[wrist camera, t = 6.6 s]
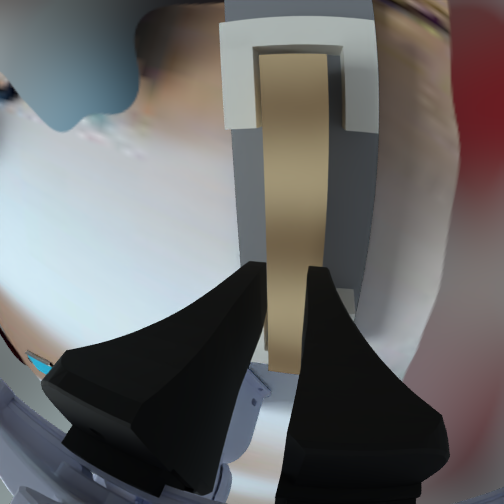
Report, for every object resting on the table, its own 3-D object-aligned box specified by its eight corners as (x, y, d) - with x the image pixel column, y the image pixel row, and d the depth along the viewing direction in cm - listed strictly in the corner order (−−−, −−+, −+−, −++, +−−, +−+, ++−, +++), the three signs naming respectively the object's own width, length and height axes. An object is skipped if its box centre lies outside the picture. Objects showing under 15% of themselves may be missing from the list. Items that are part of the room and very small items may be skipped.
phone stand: (43, 376, 53) (40, 380, 51) (19, 342, 47) (15, 346, 46) (91, 400, 47) (87, 405, 46) (62, 363, 42) (57, 368, 40)
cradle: (342, 358, 22) (341, 391, 19) (250, 348, 24) (240, 379, 21) (368, 2, 10) (378, -21, 7) (229, 4, 12) (207, -15, 9)
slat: (315, 320, 20) (308, 375, 15) (282, 317, 20) (268, 370, 16) (325, 71, 12) (326, 53, 8) (279, 71, 13) (259, 54, 8)
